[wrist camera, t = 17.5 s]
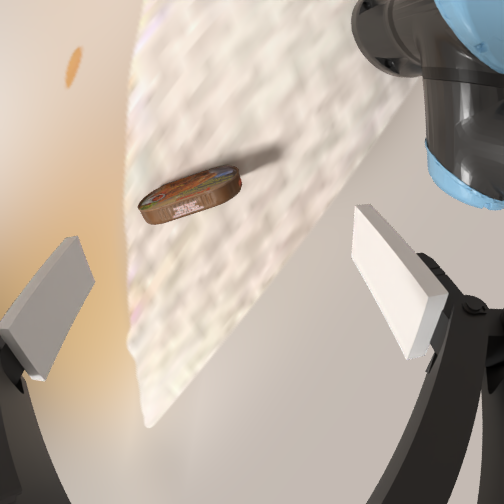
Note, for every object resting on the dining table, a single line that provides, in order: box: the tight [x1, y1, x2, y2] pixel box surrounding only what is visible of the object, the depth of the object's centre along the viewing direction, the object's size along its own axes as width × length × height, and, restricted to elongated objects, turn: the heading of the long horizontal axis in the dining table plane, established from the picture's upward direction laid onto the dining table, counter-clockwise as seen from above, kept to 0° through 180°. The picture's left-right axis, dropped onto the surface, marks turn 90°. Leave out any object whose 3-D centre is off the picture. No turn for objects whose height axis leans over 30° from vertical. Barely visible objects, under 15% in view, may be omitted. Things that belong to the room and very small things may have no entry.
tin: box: [138, 166, 242, 225], centre depth 42 cm, size 15×3×8 cm, turn 106°
